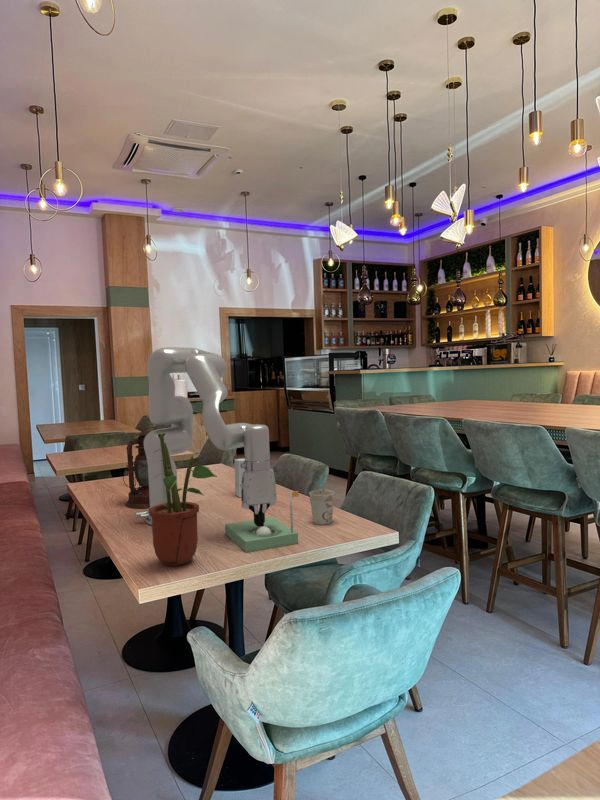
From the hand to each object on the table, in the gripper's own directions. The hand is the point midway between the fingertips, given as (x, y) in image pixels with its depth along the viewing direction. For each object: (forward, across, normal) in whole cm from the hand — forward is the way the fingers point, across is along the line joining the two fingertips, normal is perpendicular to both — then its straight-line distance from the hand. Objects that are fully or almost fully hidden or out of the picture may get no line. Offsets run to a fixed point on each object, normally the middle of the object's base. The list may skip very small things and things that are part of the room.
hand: (259, 525), depth 168 cm
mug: (+4, +24, +8) cm, 25 cm away
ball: (+2, 0, -4) cm, 4 cm away
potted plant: (+4, -25, -8) cm, 26 cm away
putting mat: (+4, 0, 0) cm, 4 cm away
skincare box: (+4, +15, +56) cm, 58 cm away
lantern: (+4, -22, +64) cm, 67 cm away
